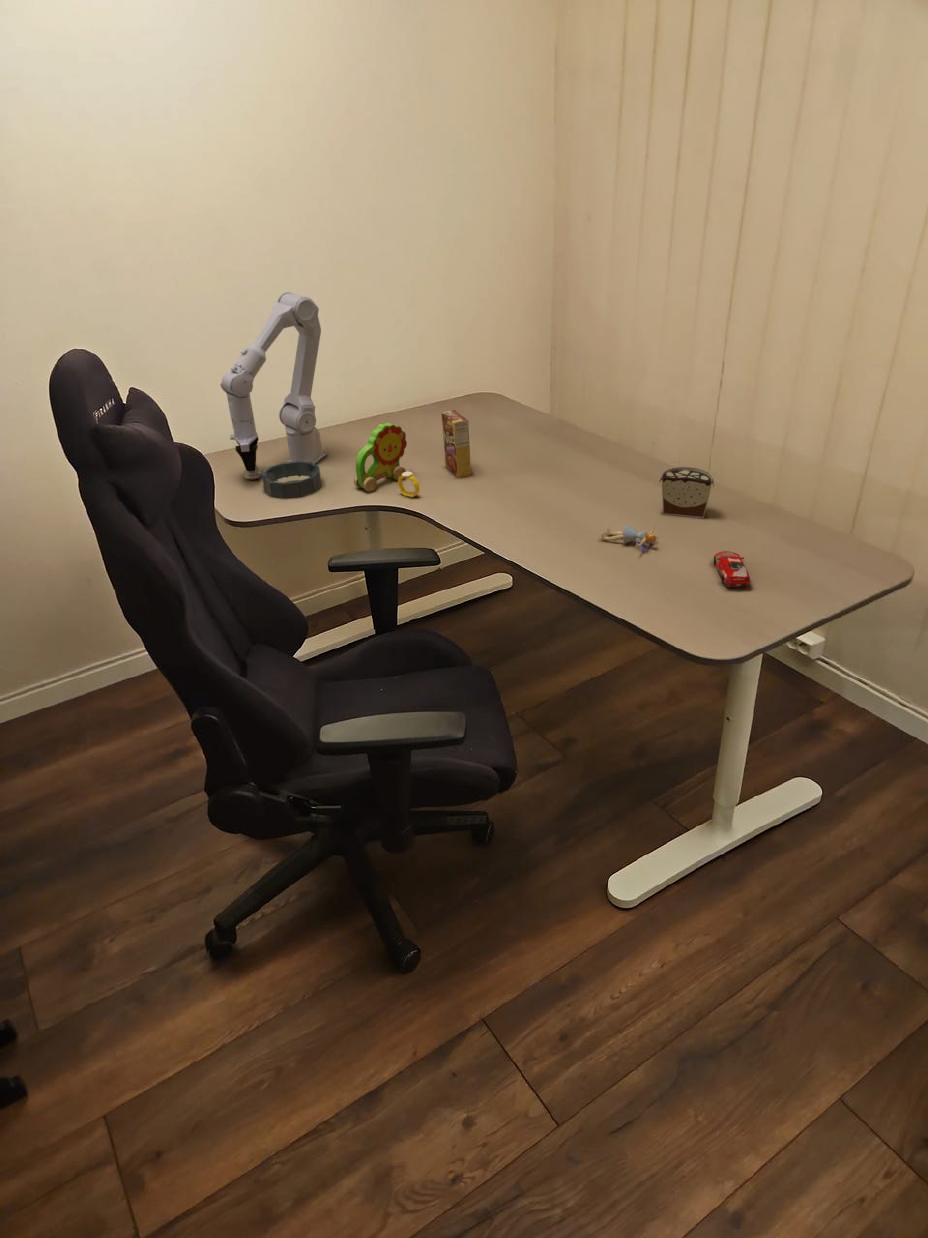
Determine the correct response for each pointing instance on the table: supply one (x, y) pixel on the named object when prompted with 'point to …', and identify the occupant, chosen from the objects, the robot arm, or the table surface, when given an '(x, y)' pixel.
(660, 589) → the table surface
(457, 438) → the candy box
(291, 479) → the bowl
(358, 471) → the toy lion
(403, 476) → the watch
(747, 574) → the race car
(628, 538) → the fairy figurine
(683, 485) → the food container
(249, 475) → the rook chess piece
